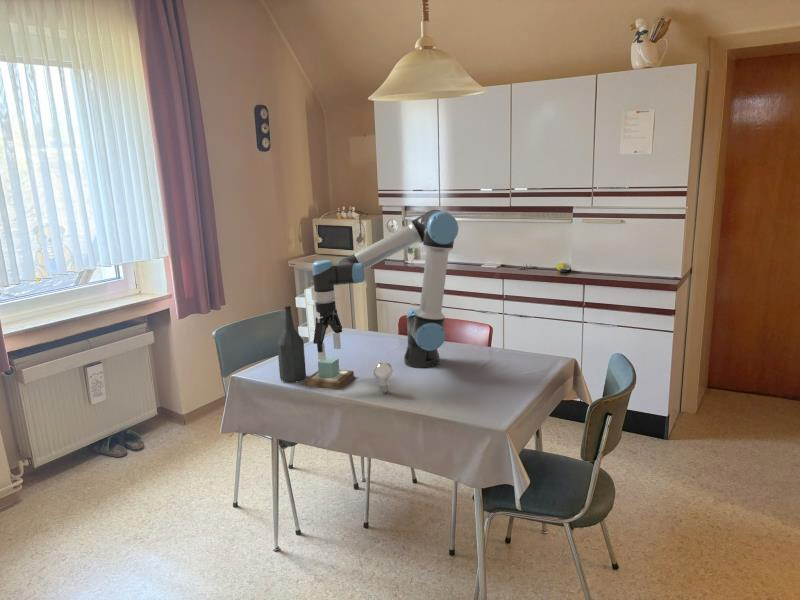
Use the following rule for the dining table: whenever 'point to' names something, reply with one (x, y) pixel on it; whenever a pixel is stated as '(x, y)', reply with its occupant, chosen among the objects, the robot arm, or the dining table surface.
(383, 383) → the light bulb
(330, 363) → the cube
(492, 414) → the dining table surface
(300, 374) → the bottle
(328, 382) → the picture frame
